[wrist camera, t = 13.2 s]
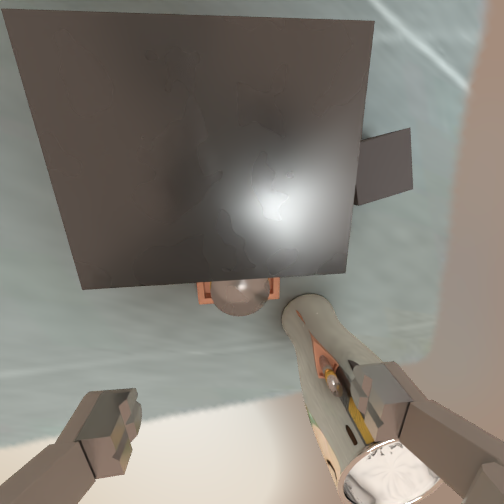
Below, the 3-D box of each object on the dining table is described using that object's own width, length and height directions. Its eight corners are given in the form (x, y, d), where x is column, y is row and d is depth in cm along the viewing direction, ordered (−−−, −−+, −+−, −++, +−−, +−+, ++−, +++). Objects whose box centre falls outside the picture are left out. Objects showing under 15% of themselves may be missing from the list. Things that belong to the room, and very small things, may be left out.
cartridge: (211, 239, 22) (206, 264, 16) (260, 237, 22) (271, 259, 17) (215, 283, 23) (211, 319, 18) (261, 280, 24) (271, 314, 18)
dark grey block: (157, 115, 19) (-7, -18, 6) (277, 115, 20) (377, -2, 7) (171, 224, 22) (85, 301, 9) (276, 219, 23) (343, 284, 9)
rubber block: (323, 152, 21) (350, 145, 16) (369, 137, 21) (410, 127, 16) (331, 199, 23) (358, 205, 18) (374, 185, 23) (412, 189, 18)
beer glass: (348, 310, 27) (481, 461, 13) (308, 350, 28) (388, 527, 14) (305, 278, 25) (407, 413, 11) (265, 323, 26) (307, 496, 12)
